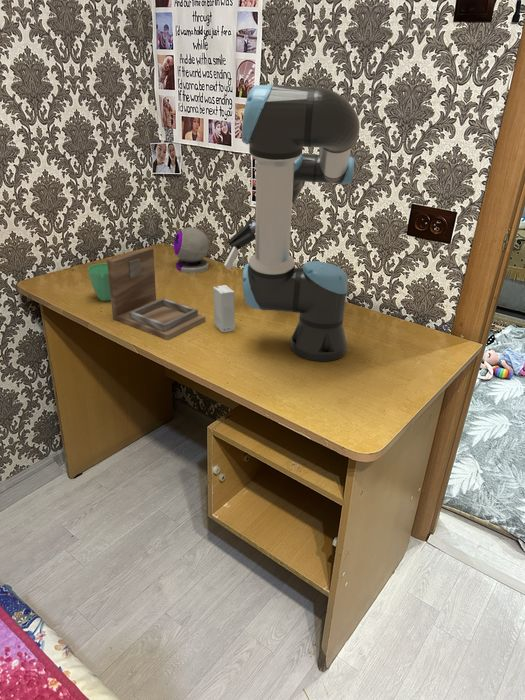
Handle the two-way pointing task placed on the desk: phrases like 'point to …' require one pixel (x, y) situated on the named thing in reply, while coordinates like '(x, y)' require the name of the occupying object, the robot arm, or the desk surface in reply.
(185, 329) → the brown l-shaped piece
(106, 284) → the mug
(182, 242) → the webcam
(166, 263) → the desk surface
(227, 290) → the skincare box
